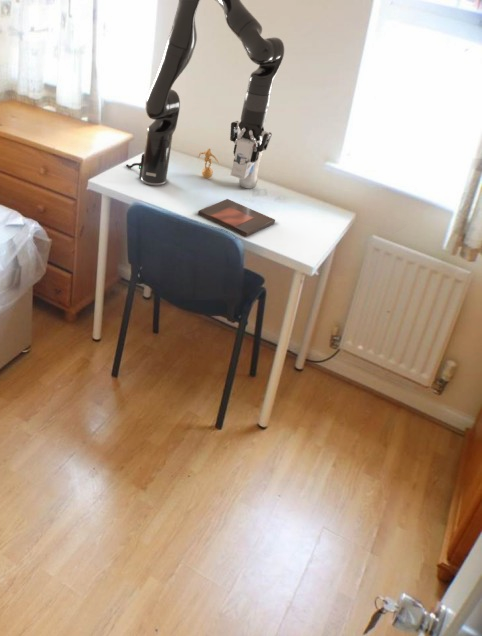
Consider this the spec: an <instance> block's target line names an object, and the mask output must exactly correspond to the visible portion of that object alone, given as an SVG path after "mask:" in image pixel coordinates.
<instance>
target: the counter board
mask: <svg viewBox="0 0 482 636" xmlns="http://www.w3.org/2000/svg"><path fill="white" fill-rule="evenodd" d="M197 215H198V216H200V217H202V218H204V219H206V220H209V221H210V222H212V223H215V224H217V225H219V226H222V227H224V228H226V229H227V230H230V231H232V232H234V233H236V234H239V235H241V236H243V237H245V238H247V237H250V236H252V235H253V234H256V233H257V232H259V231H262V230H265V229H266V228H269V227H270V226H273V225H274V224H275V222H276V219H275V218H272V217H270V216H267V215H266V214H264V213H261V212H259V211H256V210H254V209H252V208H250V207H247V206H245V205H242V204H241V203H238V202H236V201H234V200H231V199H229V198H225V199H224V200H221V201H217V202H216V203H214V204H211V205H209V206H206V207H204V208H202V209H199V210H198V212H197Z"/></svg>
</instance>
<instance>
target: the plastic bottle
mask: <svg viewBox="0 0 482 636" xmlns="http://www.w3.org/2000/svg"><path fill="white" fill-rule="evenodd" d="M260 138H261V142H262V139H263V138H262V134H261V135H260ZM260 144H261V143H260ZM264 152H265V150H264V151H262V152H259V157H258V160H257V161H256V162H255V163H254V167H253V171H252V172H251V173H250V174H249V175H248V176H247V177H246V178H245V179H241V178H238V183H239V186H241V187H242V188H245V189H253V188H256V186H257V184H258V181H259V168H260V164H261V161H262V158H263V155H264Z"/></svg>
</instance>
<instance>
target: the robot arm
mask: <svg viewBox="0 0 482 636" xmlns="http://www.w3.org/2000/svg"><path fill="white" fill-rule="evenodd" d="M214 1H215V2H216V3H217V4H218V5H219V6H220V7H221V9H222V11H223V15H224V19H225V22H226V24H227V27H228V28H229V30H230V31H231V32H232V33H233V34H234V35H235V36H236V38H238V40H239V41H240V42H241V44H242V47H243V49H244V50H245V52H246V55H247V57H248V58H249V60H250V61H251V62H253V63H254V64H255V65H257V66H258V67H257V69H255V70H254V71H252V72H251V73H250V75H249V79H248V84H247V89H246V92H245V96H244V100H243V105H242V110H241V117H240V121H239V120H235V121H233V122H231V123H230V133H229V135H230V138H229V140H230V142H233V143H234V148H233V156H234V157H235V152H236V147H237V143H238V141H239V140H240V139H241V138H242V137H243V138H247V139H249V140H251V142H253V143H254V147H253V150H254V151H253V152H252V157H251V162H252V163H254V162H256V161H257V160H258V157H259V152H262V151H264V152H265V151H266V150H267V148H268V146H269V143H270V141H271V138H272V135H273V134H272V132H270V131H269V132H267V131H266V130H265V127H264V126H265V124H266V121H267V115H268V110H269V107H270V103H271V102H270V101H271V93H272V89H273V84H274V79H275V77H276V75H277V74H278V71H279V69H280V67H281V66H282V65H281V64H282V62H283V60H284V56H285V44H284V42H283V40H282V39H281V38H279V37H276V36H274V37H273V36H272V37H268V38H263V36H261V34H262V33H263V26H262V24H261V23H260V22H259V21H258V19H257V18H256V17H255V16H254V15H253V14H252V13H251V11H249V9H248V8H247V7H246V6H245V5H244V4H243V2H242V1H241V0H214ZM200 2H201V0H178V3H177V6H176V7H177V8H176V11H175V14H174V19H173V21H172V25H171V28H170V32H169V34H168V37H167V41H166V43H165V46H164V51H163V55H162V58H161V61H160V62H159V63H160V64H159V67H158V69H157V73H156V75H155V78H154V80H153V83H152V84H151V87H150V89H149V92H148V94H147V97H146V99H145V106H144V107H145V114H146V115H147V117H148V118H149V119H150V120H154V121H153V122H152V123H151V124H150V125H149V126H147V129H146V136H145V145H144V153H142V154H141V157H140V158H141V159H140V162H134V163H132V164H131V165H129V164H125V167H126V168H128V169H132V168H133V167H135V166H138V170H139V174H138V175H139V176H138V179H139V180H140V181H141V182H142V183H143V184H145V185H148V186H153V187H154V186H155V187H160V186H164V185H166V184H167V177H168V170H169V163H170V157H171V149H172V143H173V135H174V133H175V131H176V128H177V126H178V120H179V114H180V109H181V99H180V95H179V94H178V92H177V91H175V90H174V89H172V87H173V85H174V84H175V82H176V80H177V79H178V78H179V77H180V75H181V74H182V73H183V71H184V70H185V69H186V68H187V66H188V65H189V63H190V62H191V60H192V57H193V55H194V51H195V48H196V46H197V41H198V33H197V25H196V14H197V11H198V8H199V6H200V5H199V4H200ZM239 131H240V132H239ZM261 134H262V138H263V139H262V141H261V138H260V135H261ZM255 139H256V140H257V141H255ZM260 143H261V144H260Z"/></svg>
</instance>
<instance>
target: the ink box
mask: <svg viewBox="0 0 482 636" xmlns="http://www.w3.org/2000/svg"><path fill="white" fill-rule="evenodd" d="M255 141H257V140H256V139H255ZM253 147H254V143H253V142H251V140H249V139H247V138H243V137H242V138H241V139H240V140H239V141H238V143H237V147H236V152H235V156H234V157H233V161H232V166H231V170H230V176H231V177H235V178H238V179H239V178H241V179H245V178H246V177H247V176H248V175H249V174H250V173H251V172H252V171H253V167H254V163H255V162H254V163H252V162H251V157H252V152H253V151H254V150H253Z"/></svg>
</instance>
